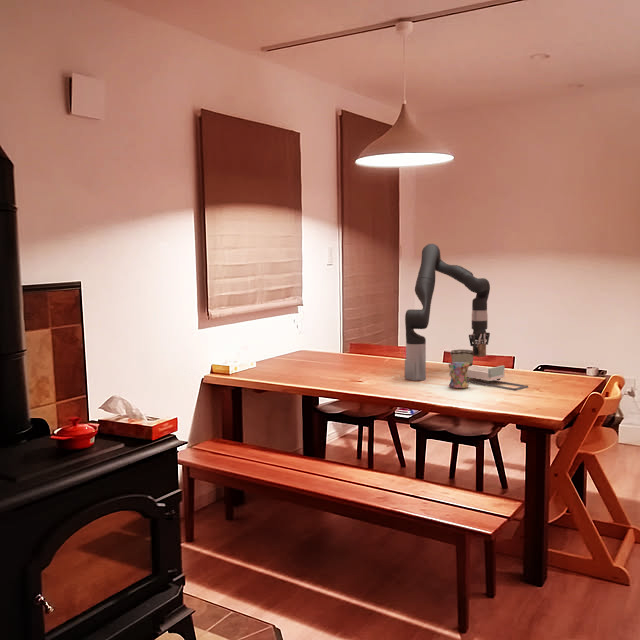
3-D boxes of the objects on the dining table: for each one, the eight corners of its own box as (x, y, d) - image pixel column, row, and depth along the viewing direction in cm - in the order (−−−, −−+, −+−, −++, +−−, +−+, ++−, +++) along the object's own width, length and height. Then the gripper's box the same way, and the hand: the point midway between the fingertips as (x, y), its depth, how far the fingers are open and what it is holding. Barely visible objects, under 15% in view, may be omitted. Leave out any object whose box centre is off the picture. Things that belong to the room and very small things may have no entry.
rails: (515, 390, 277) (515, 388, 277) (455, 380, 302) (455, 378, 302) (528, 387, 284) (528, 385, 284) (468, 377, 308) (468, 375, 308)
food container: (473, 368, 331) (473, 349, 330) (474, 370, 325) (474, 351, 324) (448, 368, 332) (448, 349, 331) (450, 370, 326) (450, 351, 325)
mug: (455, 384, 293) (455, 361, 292) (473, 386, 286) (473, 363, 285) (440, 388, 284) (440, 365, 283) (459, 391, 278) (459, 367, 276)
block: (480, 357, 310) (480, 344, 309) (472, 356, 313) (472, 343, 313) (485, 356, 313) (486, 343, 312) (478, 355, 316) (478, 343, 316)
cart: (490, 384, 286) (490, 368, 286) (459, 378, 299) (459, 364, 299) (504, 380, 294) (504, 365, 293) (473, 375, 306) (473, 361, 306)
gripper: (482, 318, 319) (481, 352, 320) (464, 320, 310) (463, 355, 311) (494, 318, 313) (494, 353, 314) (476, 321, 304) (476, 356, 306)
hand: (479, 354), depth 313 cm, fingers closed on block, 4 cm apart
